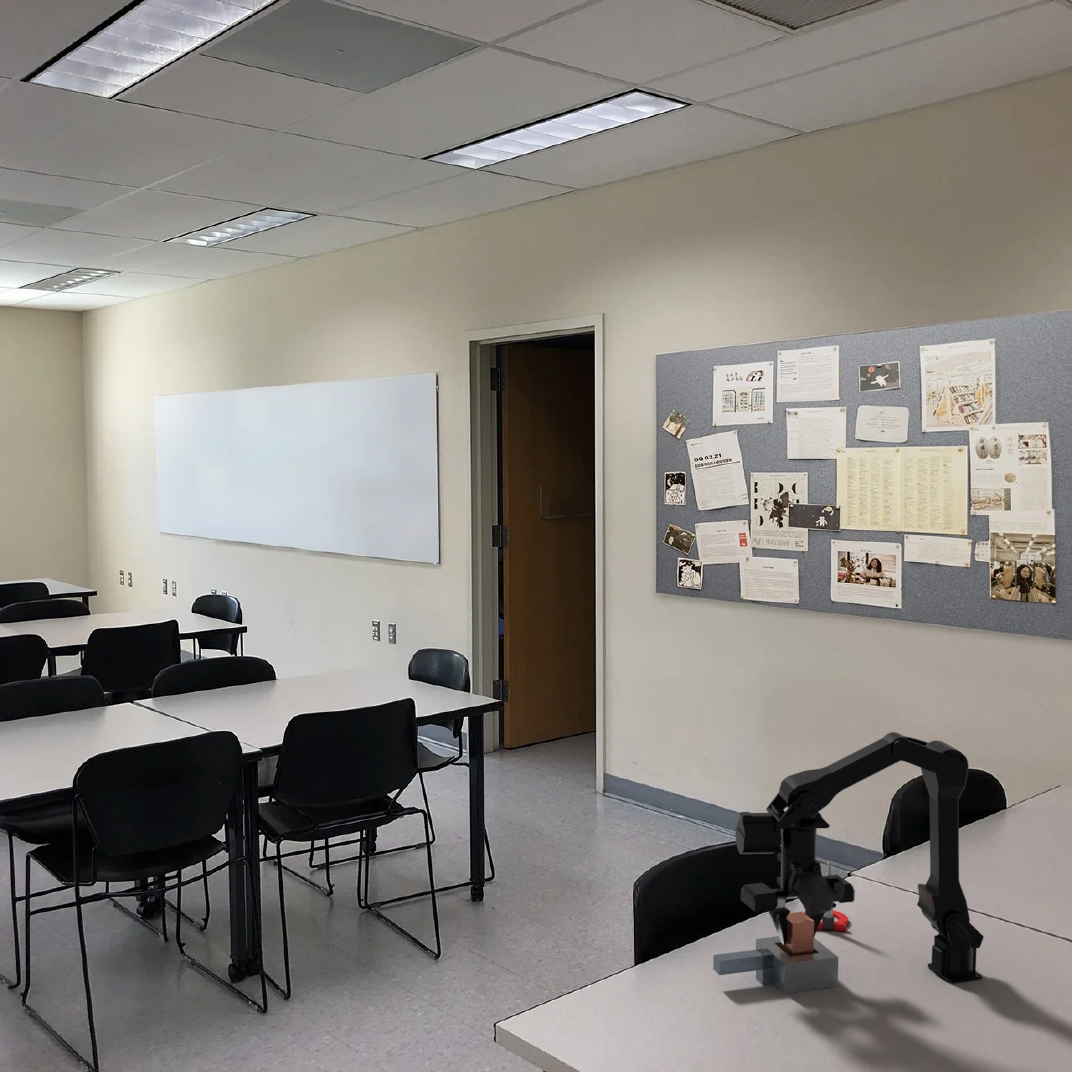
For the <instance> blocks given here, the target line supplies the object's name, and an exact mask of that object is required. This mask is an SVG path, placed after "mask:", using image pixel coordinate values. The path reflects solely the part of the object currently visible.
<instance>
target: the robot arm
mask: <svg viewBox="0 0 1072 1072" xmlns="http://www.w3.org/2000/svg"><path fill="white" fill-rule="evenodd" d="M899 762H905V763H908V764H911V765H913V766H916V767H919V768H920V770H921V774H922V778H923V780H924V783H925V786H926V789H927V791H928V795H929V858H930V859H929V863H930V865H929V870H930V873H929V877H928V879H927V881H926V883H925V884H924V883H918V884H917V890H918V891H917V892H918V901H917V903H916V905H917V907H919V909H920V910H921V913H922V916H924V917H925V919H927V920H928V921H929V923H930V925H931V928H933V930H935V931H936V932H937V933H938V934H937V935H934V936H933V937H934V940H933V943H934V944H933V945H932V947H931V962H929V963H927V968H929V969H930V970H931V971H933V972H934V973H935V974H936V975H939V977H941V978H943V980H946V981H947V982H949V983H960V982H966V981H973V980H974V981H975V980H980V979H982V978H983V975H982V974H981V973H980V972H978V971H977V950H978V949H980V948H981V946H982V944H983V941H984V938H985V937H984V935H983V934H982V933H981V932H980V931H979V930H978V929H977V928H976V927H975V926H974V925H973V923H971V922H970V913H969V907H968V903H967V902H968V901H967V899H966V896H965V893H964V891H963V888H962V886H961V883H960V862H959V861H960V841H959V840H960V837H959V835H960V830H959V826H960V825H959V824H960V823H959V821H960V820H959V815H960V814H959V802H960V801H959V799H960V797H961V795H962V793H963V791H964V790H965V787H966V785H967V779H968V773H969V760H968V758H967V756H966V755H965V754H963V752H961V751H960V750H958V749H956V748H955V747H953V746H951V745H949V744H948V743H946V742H944V741H942V740H932V741H930V742H928V741H924V740H922V739H918V738H914V737H910V736H905V735H903V734H901V733H899V732H896V731H895V732H893V731H891V732H889V733H888V732H887V734H885V735H884V736H883V737H881V738H879V739H878V740H876V741H874V742H872V743H870V744H868V745H866V746H865V747H862V748H860V749H858V750H857V751H854V752H853V753H851V754H848V755H846V756H845V757H841V759H839V760H836V761H835V762H832V763H831V764H829V765H827V766H824V767H821V768H815V769H814V768H813V769H809V770H807V769H806V770H804V771H800V772H797V773H794V774H791V775H788V776H786V777H785V778H784V779H783V780H782V781H781V782H780V784H779V785H780V786H779V789H778V792H777V794H776V795H775V797H774V798H773V799H772V801H770V803H769V804H768V806H767V807H766V812H749V811H741V812H740V813H739V819H738V820H737V824H736V827H735V842H736V847H737V851H738V853H739V854H740V855H753V854H754V855H756V854H757V855H761V854H762V855H764V854H765V855H766V854H768V855H769V854H770V855H771V854H775V853H776V852H779V850H780V847H781V852H780V853H777V861H779V862H780V876H777V877H776V883H777V884H778V885H779V886H780V888H770V887H769V886H768V885H767V884H765V883H764V882H758V883H749V884H744V885H743V887H742V888H741V890H740V901H741V902H742V903H743V904H745V905H746V906H748V908H750V910H752V912H755V913H759V914H760V913H769V916H770V918H771V920H772V923H773V925H774V927H775V930H776V933H777V936H779V938H780V940H781V943H782V944H783V945H786V943H787V916H788V915H789V913H791V910H789V909H788V908H787V906H786V904H787V903H786V901H788V900H789V901H790V900H797V899H798V900H799V901H800V903H801V904H802V906H803V908H804V912H805V914H806V915H807V916H808V917H810V918H811V919H812V920H813V921H814V937H815V936H816V933H817V932H818V930H819V929H818V926H819V924H820V922H822V918H823V916H824V914H825V913H826V912H827V911H830V910H831V909H832V908H833V909H834V908H835V909H836V907H837V904H836V902H838V903H839V904H844V903H852V902H853V903H854V901H855V898H856V894H855V893H856V890H855V888H854V886H853V884H852V883H850V882H849V881H847V880H846V879H844V878H843V877H841V876H840V875H838V874H832V875H829V876H826V875H823V874H822V866H821V862H820V861H818V860H817V834H818V833H817V832H818V831H817V829H829V828H830V827H831V826H830V824H829V823H828V822H827V821H826V820H825V819H824V818H823V816H822V814H821V813H820V811H822V810H823V809H824V808H826V807H827V806H829V805H830V804H831V802H833V800H834V798H836V796H837V795H838V794H840V793H841V792H843V791H844V790H846V789H848V788H851V786H852V787H853V786H854V785H856V784H858V783H859V782H862V781H863V780H865V779H868V778H870V777H872V776H873V775H876V774H877V773H879V772H881V771H883V770H886V769H888V768H889V767H891V766H894V765H895V764H897V763H899ZM786 808H787V809H786ZM785 809H786V810H785Z"/></svg>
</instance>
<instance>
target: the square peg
mask: <svg viewBox="0 0 1072 1072" xmlns="http://www.w3.org/2000/svg"><path fill="white" fill-rule="evenodd" d="M803 912H804V911H798V912H797V911H795V912H790V913H789V915H788V916H787V943H786V945H783V944H782V943H781V944H780V949H782V950H783V951H784V952H785V953H786V954H787V955H789V956H790V957H792V956H800V955H808V954H814V938H815V936H814V921H813V920H812V919H811V918H810V917H808V916H807V915H806V914H804V913H803Z"/></svg>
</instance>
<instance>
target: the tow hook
mask: <svg viewBox="0 0 1072 1072" xmlns="http://www.w3.org/2000/svg"><path fill="white" fill-rule="evenodd" d="M829 875H833V872H832V861H830V860H829V861H827V866H826V872H825V876H829ZM802 912H803V913H804V914H805V911H802ZM835 918H836V919H838V920H835ZM848 924H849V918H848V916H847V915H846V914H844V913H842V912H840V911H839V910H838V911H837V910H834V908H832V909H831V910H830V911H827V912H826V913H825V914H824V916H823V918H822V920H821V922H820V924H819V926H818V929H817V930H822V931H826V932H830V931H831V932H834V931H836V932H847V925H848Z"/></svg>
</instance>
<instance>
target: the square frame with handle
mask: <svg viewBox="0 0 1072 1072" xmlns="http://www.w3.org/2000/svg"><path fill="white" fill-rule="evenodd" d="M780 944H781V940H780V938H779V935H777V936H770V937H762V938H761V937H759V938H755V949H751V950H742V951H736V952H735V951H733V952H727V953H720V954H719V953H718V954H713V959H712V960H713V961H712V962H713V965H712V966H713V967H712V969H713V970H714V971H715V973H716V974H718V975H719V976H725V975H733V974H740V973H746V972H755V979H756V980H757V981H758V980H759V981H760V982H759V981H758V982H759V983H760V984H761V985H763V986H764V984H765V985H770V983H771V984H773V986H775V987H776V988H777V989H778V990H779V991H780V990H781V991H782V992H781V991H780V992H781V993H782V994H791V993H793V992H794V993H799V991H801V992H806V991H805V990H808V991H814V990H822V989H829V988H835V987H836V988H837V987H838V985H839V983H838V982H839V956H838V955H837V954H835V953H834V952H833V951H832V950H830V949H829V948H828V947H826V946H825V945H824V944H822V943H821V942H820V941H819V940H818V939H816V938H815V937H814V954H808V955H800V956H792V957H790V956H789V955H787V954H786V953H785V952H784V951H783V950H782V949H780Z"/></svg>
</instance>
